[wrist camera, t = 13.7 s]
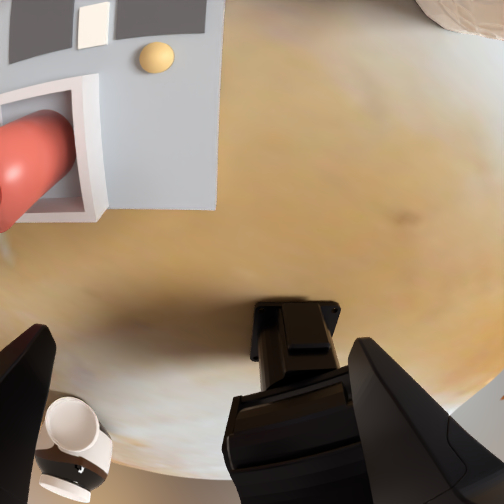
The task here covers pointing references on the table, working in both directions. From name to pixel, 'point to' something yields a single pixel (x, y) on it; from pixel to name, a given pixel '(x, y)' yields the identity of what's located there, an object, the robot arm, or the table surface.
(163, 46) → the panel
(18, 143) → the pink cylinder with nub
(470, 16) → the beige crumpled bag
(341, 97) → the table surface
